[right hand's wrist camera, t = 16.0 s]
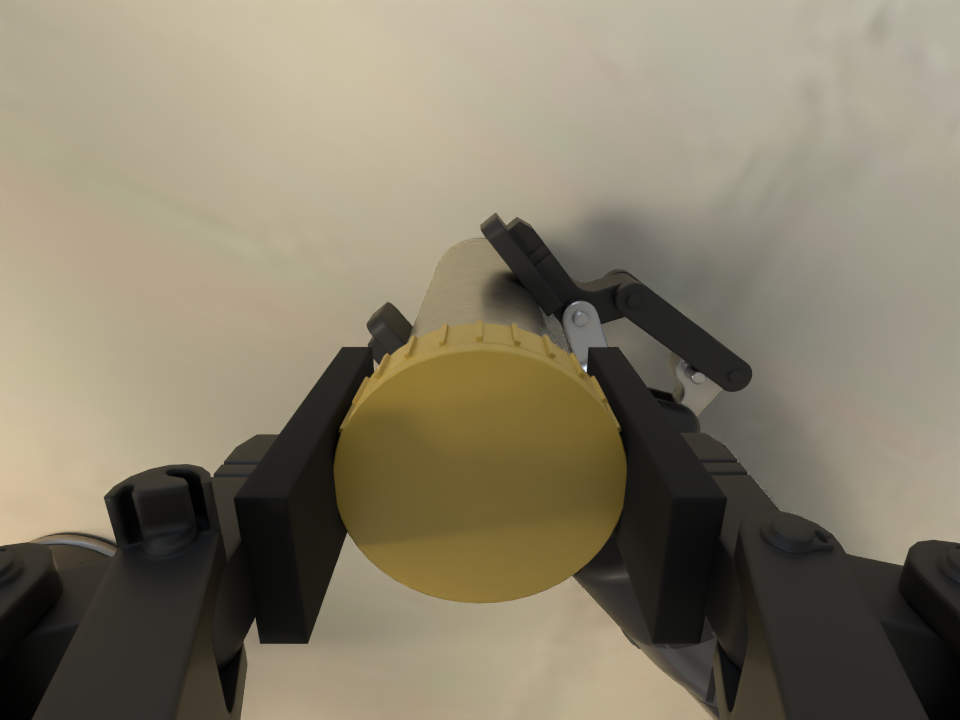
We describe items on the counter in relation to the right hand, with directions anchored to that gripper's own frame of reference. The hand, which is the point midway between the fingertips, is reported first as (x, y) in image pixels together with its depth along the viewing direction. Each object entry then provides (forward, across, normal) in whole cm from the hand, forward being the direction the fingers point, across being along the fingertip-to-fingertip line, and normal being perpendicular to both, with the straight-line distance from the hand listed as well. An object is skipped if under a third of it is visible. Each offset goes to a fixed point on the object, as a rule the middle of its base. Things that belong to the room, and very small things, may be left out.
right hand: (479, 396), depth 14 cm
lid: (-4, 0, 0) cm, 4 cm away
